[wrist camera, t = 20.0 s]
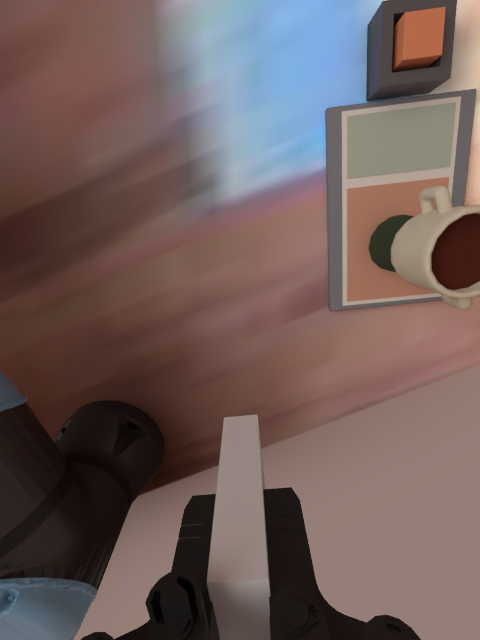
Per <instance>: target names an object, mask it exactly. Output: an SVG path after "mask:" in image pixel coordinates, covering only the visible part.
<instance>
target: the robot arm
mask: <svg viewBox="0 0 480 640" xmlns="http://www.w3.org/2000/svg"><path fill="white" fill-rule="evenodd" d="M26 401H27V398H26V397H25V396H22V395H21V394H20V393H19V392H18V391H17V389H16V388H15V387H14V386H13V384H12V383H11V382H10V381H9V379H8V378H7V377H6V376H5V374H4V373H3V372H1V371H0V640H73V639H74V637H75V635H76V634H77V632H78V630H79V628H80V626H81V624H82V622H83V619H84V617H85V615H86V613H87V611H88V609H89V607H90V605H91V603H92V602H93V601H94V599H95V597H96V594H97V591H98V588H99V586H100V583H101V581H102V578H103V575H104V573H105V570H106V568H107V565H108V562H109V560H110V557H111V555H112V552H113V550H114V547H115V544H116V542H117V539H118V537H119V534H120V532H121V529H122V526H123V524H124V521H125V519H126V516H127V513H128V511H129V509H130V506H131V504H132V503H133V501H134V500H135V499H136V498H137V497H138V495H139V494H140V493H141V492H142V491H143V489H144V488H145V487H146V486H147V485H148V484H149V483H150V482H151V481H152V480H153V478H154V477H155V475H156V473H157V472H158V469H159V467H160V464H161V461H162V458H163V454H164V442H163V438H162V435H161V433H160V431H159V429H158V427H157V426H156V424H155V423H154V422H153V421H152V420H151V419H150V418H149V417H148V416H147V415H146V414H145V413H143V412H142V411H140V410H139V409H137V408H135V407H133V406H130V405H128V404H125V403H121V402H115V401H98V402H93V403H90V404H87V405H85V406H83V407H81V408H80V409H78V410H77V411H76V412H74V413H73V415H72V416H71V417H70V418H69V419H68V420H67V421H66V422H65V423H64V425H63V426H62V428H61V429H60V431H59V433H58V436H57V438H56V442H55V443H54V442H53V440H52V439H51V437H50V436H49V434H48V433H47V432H46V430H45V429H44V427H43V426H42V424H41V423H40V421H39V420H38V419H37V417H36V416H35V414H34V413H33V411H32V410H31V408H30V407H29V406H28V404H27V403H26ZM146 606H147V609H148V613H149V616H150V620H149V621H148V622H147V623H145V624H144V625H142V626H141V627H139V628H137V629H135V630H133V631H131V632H129V633H127V634H124V635H122V636H120V637H118V638H116V639H114V640H421V639H420V638H419V637H418V636H417V635H416V633H415V632H414V631H413V630H412V628H411V627H409V626H408V625H407V624H405V623H404V622H402V621H401V620H400V619H398V618H395V617H391V616H389V615H381V616H375V617H374V618H372V619H371V620H370V621H369V622H367V623H366V622H363V621H360V620H357V619H355V618H352V617H349V616H346V615H344V614H342V613H340V612H338V611H336V610H335V609H334V608H333V607H331V606H330V605H329V604H328V602H327V601H326V600H325V599H324V598H323V596H322V595H321V593H320V591H319V589H318V586H317V583H316V579H315V574H314V570H313V564H312V559H311V554H310V549H309V544H308V540H307V534H306V530H305V524H304V519H303V514H302V509H301V504H300V500H299V498H298V497H297V495H296V494H295V492H294V491H293V490H292V488H278V489H265V485H264V472H263V461H262V452H261V443H260V434H259V424H258V415H247V416H235V417H224V423H223V433H222V442H221V451H220V461H219V470H218V480H217V489H216V494H211V495H198V496H192V498H191V500H190V501H189V503H188V504H187V506H186V508H185V509H184V514H183V518H182V523H181V528H180V533H179V540H178V542H177V547H176V551H175V556H174V561H173V566H172V570H171V573H168V574H167V575H165V576H164V577H162V578H161V579H159V580H158V582H157V583H156V584H155V585H154V587H153V588H152V589H151V590H150V593H149V596H148V598H147V600H146ZM81 640H113V638H112V637H111V636H110V635H108V634H107V633H106V632H94V633H92V634H90V635H88V636H85V637H83V638H82V639H81Z"/></svg>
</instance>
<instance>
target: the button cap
mask: <svg viewBox="0 0 480 640" xmlns="http://www.w3.org/2000/svg"><path fill="white" fill-rule="evenodd" d="M445 9H446V7H439V8H432V9H425V10H418V11H411V12H405V13H404V14H403V16H402V17H401V18H400V20H399V21H398V22H397V24H396V25H395V26H394V28H393V50H392V73H394V72H402V71H409V70H417V69H424V68H427V67H428V66H429V65H431V64H432V63H433V62H434V61H435V60H436V59H438V58H439V57H440V56H441V55H442V47H443V35H444V22H445Z"/></svg>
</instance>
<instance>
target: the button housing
mask: <svg viewBox="0 0 480 640" xmlns="http://www.w3.org/2000/svg"><path fill="white" fill-rule="evenodd" d="M456 5H457V0H387V1H383V2H382V3H381V5H380V7H379V8H378V10H377V11H376V13H375V15H374V16H373V18H372V20H371V21H370V23H369V24H368V35H367V95H366V101H371V100H379V99H387V98H394V97H402V96H410V95H417V94H425V93H429V92H431V91H432V90H434V89H435V88H437V87H438V86H439V85H441V84H442V83H444V82H445V81H446V80H448V79H449V78H450V75H451V63H452V51H453V40H454V28H455V17H456ZM439 7H446V9H445V22H444V35H443V47H442V55H441V56H440V57H439V58H438V59H436V60H435V61H434V62H433V63H432V64H431V65H429V66H428V67H427V68H424V69H417V70H409V71H402V72H394V73H392V50H393V28H394V26H395V25H396V24H397V22H398V21H399V20H400V18H401V17H402V16H403V14H404V13H405V12H411V11H418V10H425V9H432V8H439Z"/></svg>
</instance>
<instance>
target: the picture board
mask: <svg viewBox="0 0 480 640" xmlns="http://www.w3.org/2000/svg"><path fill="white" fill-rule="evenodd" d="M475 97H476V89H471V90H463V91H456V92H448V93H440V94H432V95H425V96H417V97H409V98H401V99H394V100H386V101H378V102H370V103H363V104H355V105H347V106H340V107H332V108H327V109H326V111H325V121H326V176H327V230H328V284H329V310H330V311H332V310H343V309H353V308H364V307H374V306H385V305H395V304H406V303H416V302H427V301H437V300H443V299H442V296H441V294H438V293H435V292H433V291H430V290H427V289H424V288H422V287H419V286H416V285H414V284H411V283H409V282H408V281H407V280H405V279H404V278H402V277H401V276H400V275H398V274H397V272H392V271H388V270H385V269H381V268H380V267H378V266H377V265H376V264H375V263H374V262H373V261H372V259H371V256H370V252H369V249H368V248H369V244H370V239H371V235H372V234H373V233H374V231H375V230H376V228H377V227H378V225H379V224H381V223H382V222H384V221H385V220H386V219H388V218H389V217H392V216H397V215H409V216H414V217H415V216H416V215H418V214H419V213H421V212H422V210H421V205H420V201H419V194H420V193H421V191H423V190H424V189H426V188H431V187H436V186H445V187H447V188H448V190H449V192H450V197H451V202H452V207H455V206H464V198H465V189H466V180H467V171H468V162H469V152H470V143H471V134H472V125H473V116H474V107H475ZM433 203H434V207H435V209H437V204H436V200H435V199H433Z"/></svg>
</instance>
